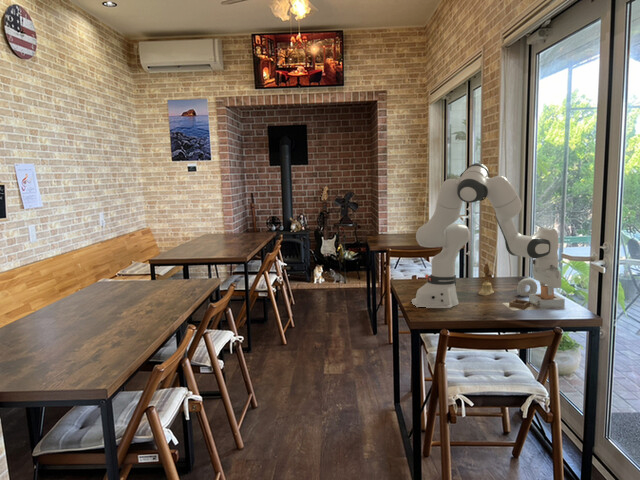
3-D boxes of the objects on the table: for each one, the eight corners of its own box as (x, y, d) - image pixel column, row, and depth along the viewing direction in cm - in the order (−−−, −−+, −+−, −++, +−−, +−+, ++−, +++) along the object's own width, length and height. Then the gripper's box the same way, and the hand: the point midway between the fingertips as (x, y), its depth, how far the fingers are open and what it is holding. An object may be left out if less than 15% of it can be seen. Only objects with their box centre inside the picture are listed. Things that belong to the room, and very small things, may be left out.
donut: (535, 296, 232) (535, 276, 230) (538, 298, 228) (539, 278, 227) (515, 297, 231) (515, 278, 230) (518, 299, 228) (519, 279, 226)
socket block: (539, 308, 206) (539, 300, 206) (528, 302, 217) (529, 293, 217) (564, 307, 206) (564, 299, 205) (552, 301, 217) (552, 292, 216)
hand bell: (479, 295, 238) (479, 265, 236) (477, 291, 246) (477, 262, 244) (496, 296, 236) (496, 265, 234) (494, 291, 244) (494, 262, 242)
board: (511, 313, 206) (511, 310, 206) (501, 306, 218) (501, 303, 218) (566, 311, 206) (566, 308, 205) (553, 304, 218) (553, 300, 217)
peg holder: (524, 309, 207) (524, 304, 207) (509, 306, 212) (509, 302, 212) (530, 305, 212) (530, 301, 211) (515, 303, 216) (515, 299, 216)
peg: (554, 305, 209) (553, 286, 208) (545, 306, 209) (544, 287, 208) (549, 303, 213) (549, 285, 212) (541, 304, 213) (540, 285, 212)
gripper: (565, 267, 198) (565, 298, 200) (543, 259, 218) (543, 287, 220) (551, 268, 198) (550, 299, 200) (530, 259, 219) (529, 288, 221)
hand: (546, 293), depth 210 cm, fingers closed on peg, 4 cm apart
